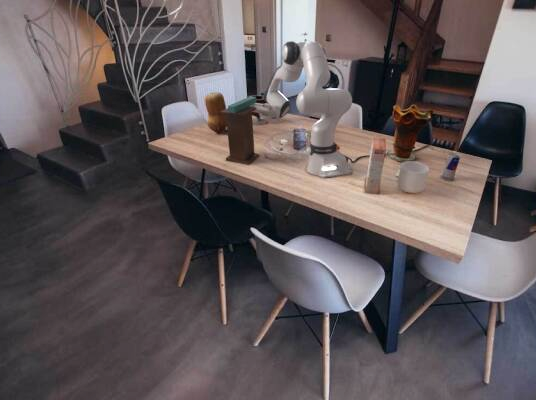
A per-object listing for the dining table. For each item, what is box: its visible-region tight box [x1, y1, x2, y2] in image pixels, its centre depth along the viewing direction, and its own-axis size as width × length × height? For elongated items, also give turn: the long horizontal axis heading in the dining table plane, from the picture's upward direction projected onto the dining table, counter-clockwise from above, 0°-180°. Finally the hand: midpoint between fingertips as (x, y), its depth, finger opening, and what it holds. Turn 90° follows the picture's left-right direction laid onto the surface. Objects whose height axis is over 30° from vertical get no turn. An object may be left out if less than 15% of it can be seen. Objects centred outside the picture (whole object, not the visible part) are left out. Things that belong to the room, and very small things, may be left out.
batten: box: [227, 95, 256, 113], centre depth 154 cm, size 22×4×3 cm, turn 160°
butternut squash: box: [204, 91, 227, 134], centre depth 193 cm, size 14×13×25 cm
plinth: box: [220, 107, 260, 165], centre depth 158 cm, size 14×13×26 cm
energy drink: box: [441, 152, 461, 181], centre depth 148 cm, size 5×5×12 cm
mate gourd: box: [248, 94, 268, 126], centre depth 216 cm, size 16×14×20 cm
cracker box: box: [365, 137, 387, 194], centre depth 136 cm, size 14×6×21 cm, turn 168°
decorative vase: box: [386, 104, 434, 162], centre depth 166 cm, size 21×23×28 cm
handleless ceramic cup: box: [396, 160, 430, 194], centre depth 137 cm, size 12×12×11 cm
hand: (256, 104), depth 167 cm, fingers open, 8 cm apart
